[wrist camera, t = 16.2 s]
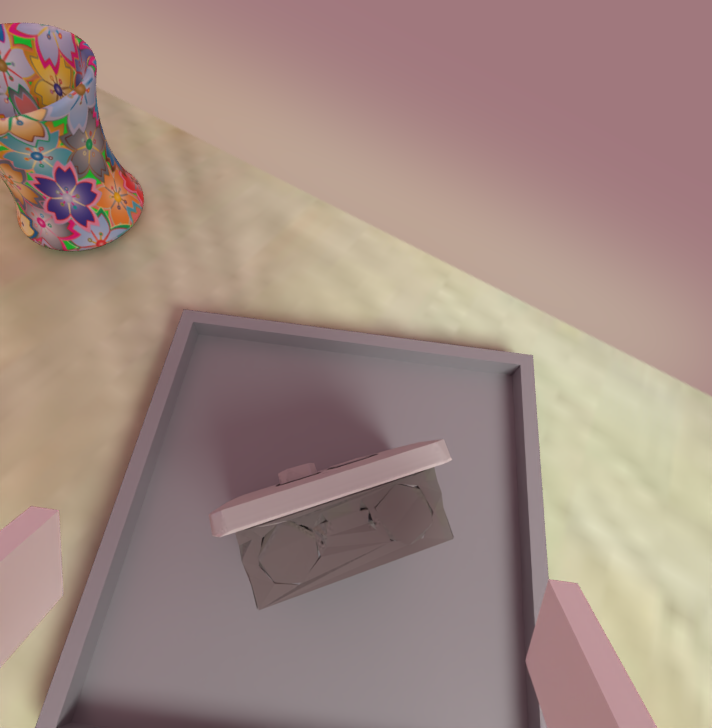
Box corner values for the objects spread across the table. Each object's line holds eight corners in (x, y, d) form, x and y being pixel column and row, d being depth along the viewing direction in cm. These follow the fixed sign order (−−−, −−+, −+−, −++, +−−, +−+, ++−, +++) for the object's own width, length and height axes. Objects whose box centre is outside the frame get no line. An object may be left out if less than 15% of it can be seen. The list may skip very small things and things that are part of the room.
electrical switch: (394, 450, 28) (433, 396, 19) (428, 542, 26) (486, 527, 17) (231, 502, 26) (192, 467, 17) (255, 604, 24) (224, 623, 15)
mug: (178, 216, 36) (128, 73, 27) (64, 286, 32) (-41, 148, 23) (88, 138, 39) (15, -13, 30) (-25, 192, 36) (-147, 40, 26)
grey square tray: (520, 370, 31) (532, 355, 29) (545, 807, 21) (565, 823, 19) (191, 326, 31) (183, 309, 30) (51, 740, 21) (26, 750, 19)
